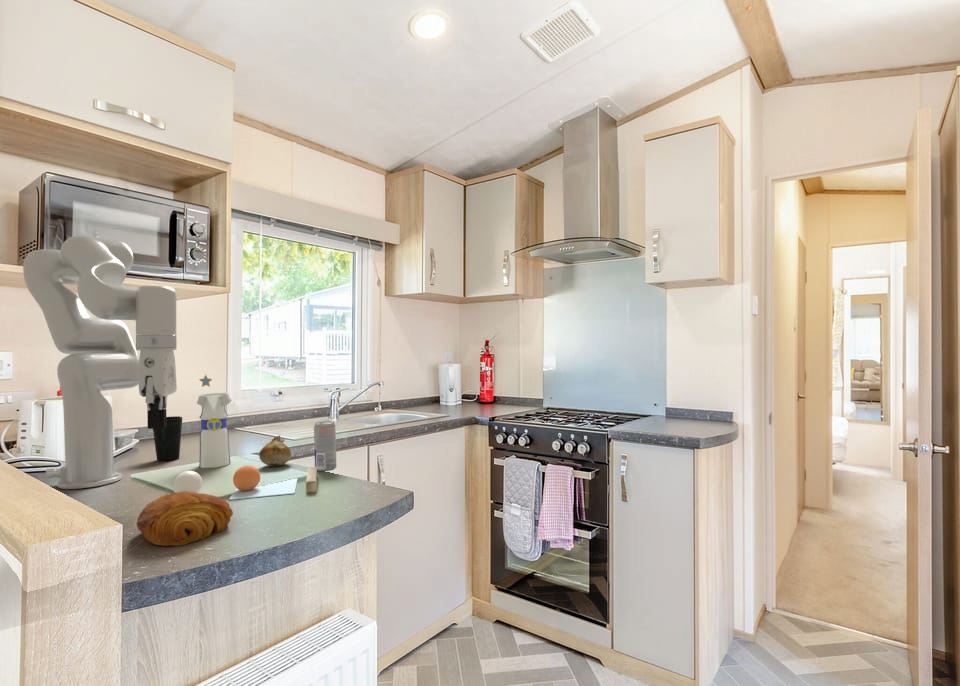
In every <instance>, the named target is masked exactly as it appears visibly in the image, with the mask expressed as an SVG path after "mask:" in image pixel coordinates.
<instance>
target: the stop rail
mask: <svg viewBox="0 0 960 686" xmlns="http://www.w3.org/2000/svg"><path fill="white" fill-rule="evenodd" d="M317 483H318V471H317V467H315V466H311V467H307V474H306V482H305V487H306V491H305V492H306V494H315V493H317V485H318V484H317Z"/></svg>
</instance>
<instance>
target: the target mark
mask: <svg viewBox="0 0 960 686" xmlns="http://www.w3.org/2000/svg"><path fill="white" fill-rule="evenodd" d="M286 480H287V479H286ZM298 481H299V480H298V478H291V480H287V481H283V482H278V483H273V484H268V485H265V486H259V487H255V488H254V489H252V490H250V491H241V490H239V489H237V488H236V487H235V489H234V490H233V492H232V493H231V496H229V499H228V500H229V501H234V500H244V499H255V498H256V499H257V498H265V497H266V498H267V497H277V496H287V495H294V494H295V492H296V489H297V484H298ZM260 482H261V481H260ZM260 482H259V484H260Z"/></svg>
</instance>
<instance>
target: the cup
mask: <svg viewBox="0 0 960 686" xmlns="http://www.w3.org/2000/svg"><path fill="white" fill-rule="evenodd" d="M182 426H183V416H178V415H176V416H166V427H164V428H159V429H152V432H153V438H154V439H153V440H154V447H155V455H156V461H157V462H159V463H162V462H163V463H166V462H173V461H177V460H179V459H180V453H181V439H182V429H183V427H182Z"/></svg>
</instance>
